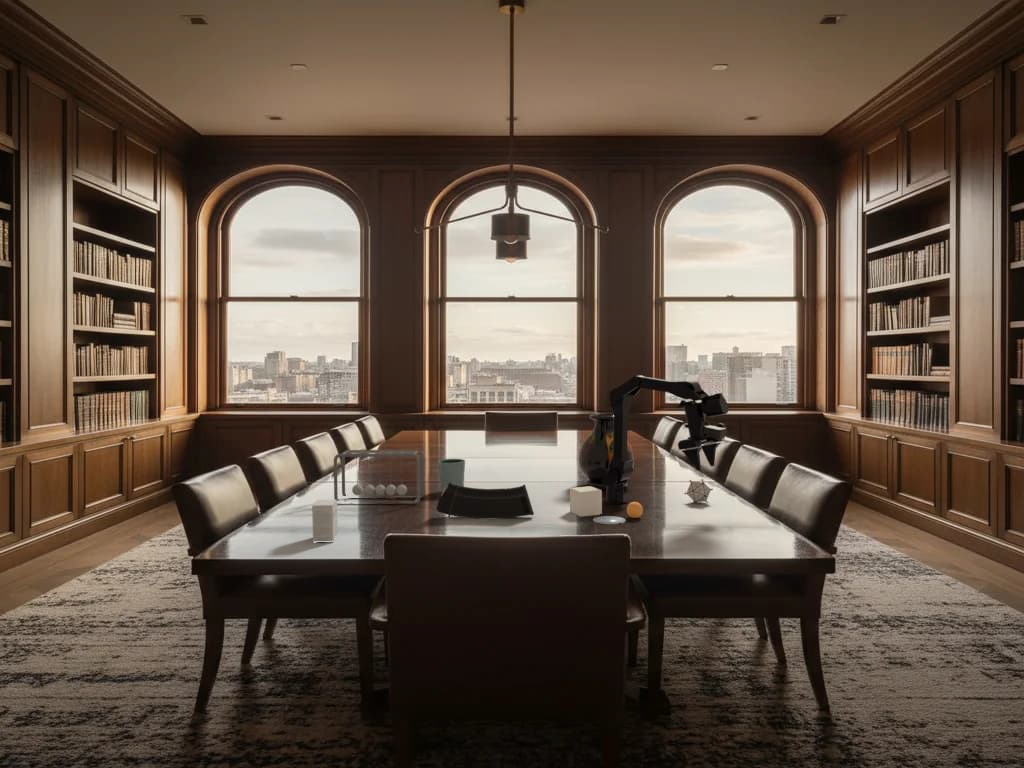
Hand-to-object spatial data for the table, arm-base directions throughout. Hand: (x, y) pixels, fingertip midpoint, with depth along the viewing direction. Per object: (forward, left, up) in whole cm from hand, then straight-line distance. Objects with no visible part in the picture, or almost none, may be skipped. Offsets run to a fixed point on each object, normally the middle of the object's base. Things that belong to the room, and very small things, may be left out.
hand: (705, 468), depth 222 cm
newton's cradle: (-62, -92, -15) cm, 112 cm away
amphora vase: (-57, -5, -15) cm, 59 cm away
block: (-18, -34, -15) cm, 41 cm away
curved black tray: (-25, -66, -15) cm, 72 cm away
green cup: (-69, -64, -15) cm, 95 cm away
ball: (-6, -23, -12) cm, 26 cm away
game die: (-17, +9, -15) cm, 24 cm away
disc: (-6, -32, -15) cm, 35 cm away
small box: (-17, -116, -15) cm, 118 cm away
